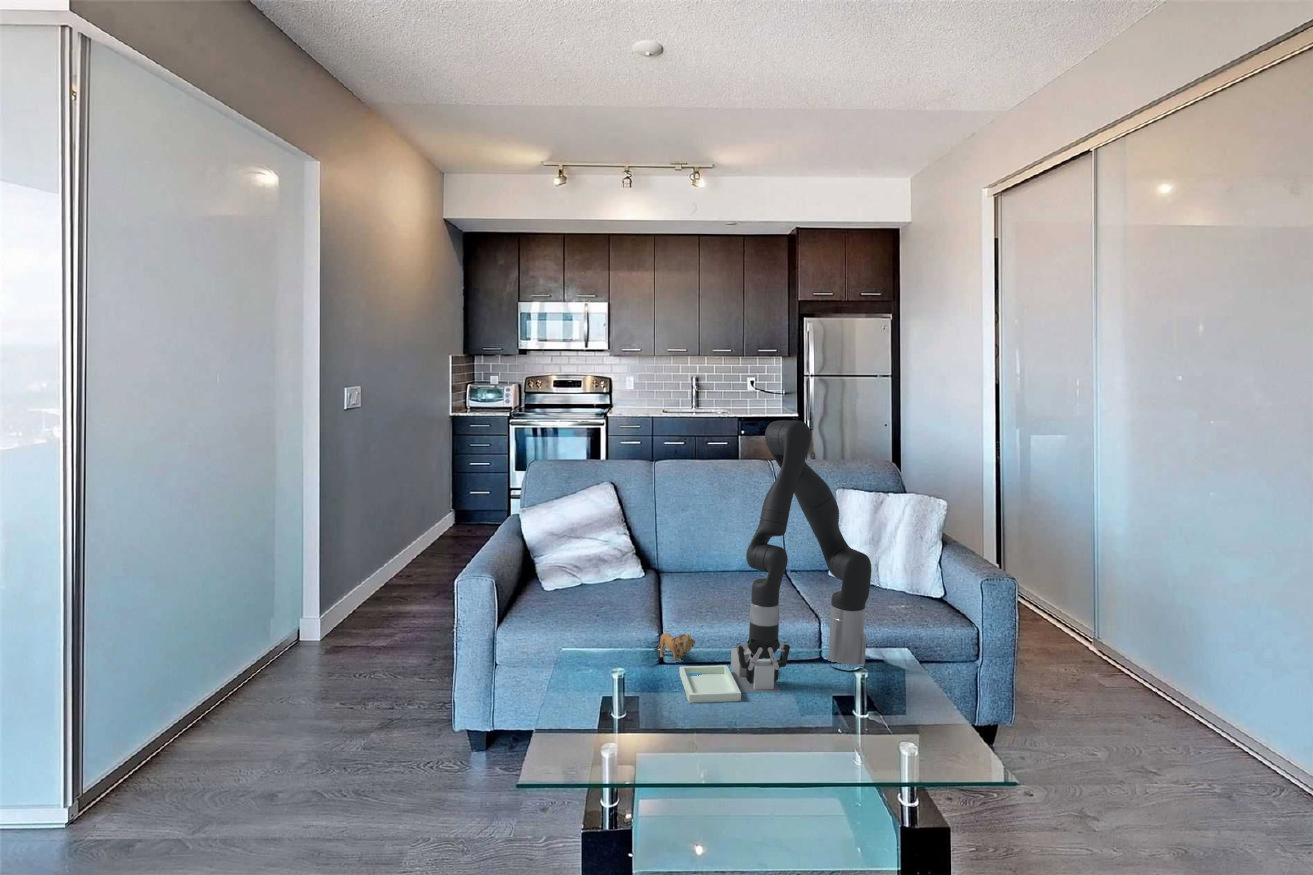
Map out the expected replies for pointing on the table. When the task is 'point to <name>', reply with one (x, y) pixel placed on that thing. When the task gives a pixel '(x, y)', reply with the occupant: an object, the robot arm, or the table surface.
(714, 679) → the sage tray
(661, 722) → the table surface
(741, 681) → the slate mat
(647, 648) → the table surface
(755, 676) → the stone block
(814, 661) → the table surface
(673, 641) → the lion figurine
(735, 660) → the stone block
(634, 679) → the table surface
